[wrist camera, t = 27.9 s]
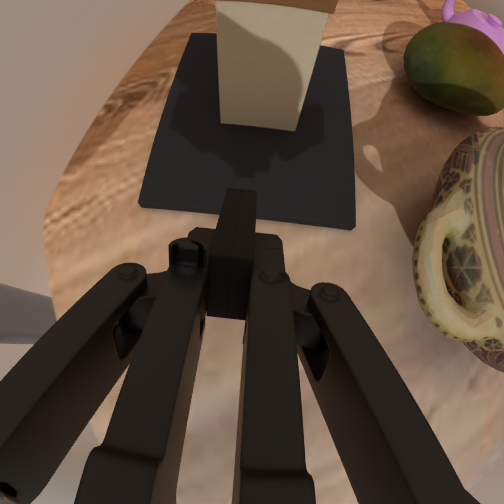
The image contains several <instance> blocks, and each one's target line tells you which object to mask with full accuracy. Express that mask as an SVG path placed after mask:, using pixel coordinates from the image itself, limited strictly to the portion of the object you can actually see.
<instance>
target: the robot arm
mask: <svg viewBox="0 0 504 504" xmlns="http://www.w3.org/2000/svg"><path fill="white" fill-rule="evenodd" d="M256 204H257V191H254V190H245V189H235V188H228V189H227V192H226V195H225V199H224V202H223V206H222V209H221V212H220V216H219V219H218V223H217V226H216V229H209V228H199V227H196V228H195V229H193V230H192V231H190V232H189V234H188V237H187V238H180V239H176V240H174V241H172V242H171V243H170V244H169V268H168V270H167V271H164V272H160V273H152V274H146V269H145V268H144V267H143V266H142V265H140V264H137V263H123V264H120V265H117V266H116V267H114V268H113V269H111V270H110V271H109V272H108V273H107V274H106V275H105V276H104V277H103V278H102V279H100V280H99V281H98V282H97V283H96V284H95V285H94V286H93V287H92V288H91V289H90V290H89V291H88V292H87V293H86V294H85V295H83V296H82V297H81V298H80V299H79V300H78V301H77V302H76V303H75V304H74V305H73V306H72V307H71V308H70V309H69V310H68V311H67V312H66V313H65V314H64V315H63V316H62V317H61V318H60V319H59V320H58V321H57V322H56V323H55V324H54V325H53V326H52V327H51V328H50V329H49V330H48V331H47V332H46V333H45V334H44V335H43V336H42V337H41V338H40V339H39V340H38V341H37V342H36V343H35V344H34V346H33V347H31V349H30V350H29V351H28V352H27V353H26V354H25V355H24V356H23V357H22V358H21V359H20V360H19V361H18V362H17V364H16V365H15V366H14V367H13V368H12V369H11V370H10V371H9V372H8V373H7V375H6V376H5V377H4V378H3V379H2V380H1V381H0V504H30V503H31V502H32V501H33V500H34V499H35V498H36V497H37V496H38V495H39V494H40V493H41V492H42V490H43V489H44V488H45V486H46V485H47V484H48V482H49V481H50V479H51V477H52V476H53V474H54V473H55V471H56V470H57V468H58V467H59V465H60V464H61V462H62V461H63V459H64V458H65V456H66V455H67V453H68V452H69V450H70V449H71V447H72V446H73V444H74V443H75V441H76V440H77V438H78V437H79V435H80V434H81V432H82V431H83V430H84V428H85V427H86V425H87V424H88V422H89V421H90V419H91V418H92V416H93V415H94V414H95V412H96V411H97V409H98V408H99V406H100V405H101V403H102V402H103V401H104V399H105V398H106V396H107V395H108V393H109V392H110V391H111V389H112V388H113V386H114V385H115V384H116V382H117V381H118V379H119V378H120V376H121V375H122V374H123V372H124V371H125V369H126V368H127V367H128V365H129V364H130V365H129V368H128V371H127V373H126V376H125V379H124V382H123V385H122V387H121V390H120V393H119V396H118V399H117V402H116V405H115V408H114V411H113V414H112V417H111V420H110V423H109V426H108V429H107V432H106V435H105V438H104V441H103V443H102V444H101V445H100V446H97V447H94V448H93V449H92V451H91V452H90V454H89V456H88V459H87V461H86V464H85V467H84V471H83V474H82V477H81V480H80V484H79V488H78V491H77V494H76V498H75V502H74V504H176V488H177V481H178V475H179V469H180V462H181V456H182V450H183V444H184V438H185V432H186V426H187V421H188V415H189V409H190V404H191V398H192V393H193V387H194V382H195V376H196V371H197V366H198V360H199V355H200V350H201V345H202V339H203V334H204V329H205V315H206V311H207V316H212V317H220V318H229V319H239V320H246V321H245V329H244V337H243V356H242V370H241V383H240V397H239V411H238V425H237V439H236V453H235V467H234V482H233V495H232V504H316V499H315V487H314V481H313V478H312V476H311V475H310V474H309V473H308V472H307V469H306V463H305V447H304V431H303V417H302V404H301V391H300V379H299V367H298V356H297V353H298V355H299V358H300V360H301V363H302V365H303V368H304V370H305V373H306V375H307V377H308V380H309V382H310V385H311V387H312V390H313V392H314V395H315V397H316V399H317V402H318V404H319V407H320V409H321V412H322V414H323V417H324V419H325V422H326V424H327V426H328V429H329V431H330V434H331V436H332V439H333V441H334V444H335V446H336V449H337V451H338V454H339V456H340V459H341V461H342V463H343V466H344V468H345V471H346V473H347V476H348V478H349V481H350V483H351V486H352V488H353V491H354V493H355V496H356V498H357V501H358V503H359V504H480V503H479V502H478V501H477V500H476V499H475V498H474V497H473V496H472V495H471V494H469V493H468V492H467V491H466V490H465V489H464V487H463V485H462V484H461V482H460V480H459V478H458V476H457V474H456V472H455V470H454V468H453V466H452V465H451V463H450V461H449V459H448V457H447V455H446V454H445V452H444V450H443V448H442V446H441V445H440V443H439V441H438V439H437V437H436V436H435V434H434V432H433V430H432V429H431V427H430V425H429V423H428V422H427V420H426V418H425V416H424V415H423V413H422V411H421V410H420V408H419V406H418V404H417V403H416V401H415V399H414V398H413V396H412V394H411V393H410V391H409V389H408V388H407V386H406V384H405V383H404V381H403V380H402V378H401V376H400V375H399V373H398V371H397V370H396V368H395V367H394V365H393V363H392V362H391V360H390V359H389V357H388V355H387V354H386V352H385V351H384V349H383V347H382V346H381V344H380V343H379V341H378V340H377V338H376V336H375V335H374V333H373V332H372V330H371V329H370V327H369V326H368V324H367V323H366V321H365V320H364V318H363V316H362V315H361V313H360V312H359V310H358V309H357V307H356V306H355V304H354V303H353V301H352V300H351V298H350V297H349V295H348V294H347V293H346V292H345V291H344V289H343V288H341V287H339V286H337V285H335V284H332V283H323V282H322V283H317V284H315V285H314V286H312V288H311V290H308V289H304V288H301V287H299V286H296V285H295V284H293V283H292V282H291V281H290V278H289V276H288V274H287V273H286V272H285V264H284V254H283V244H282V240H281V239H280V238H279V237H278V236H277V235H274V234H265V233H255V225H256Z"/></svg>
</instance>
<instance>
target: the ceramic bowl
mask: <svg viewBox="0 0 504 504" xmlns="http://www.w3.org/2000/svg"><path fill="white" fill-rule="evenodd" d="M412 263H413V276H414V281H415V286H416V291H417V296H418V300H419V302H420V305H421V307H422V309H423V311H424V313H425V315H426V316H427V318H428V319H429V321H430V322H431V323H432V324H433V325H434V326H435V327H436V328H437V329H438V330H439V331H440V332H441V333H443V334H444V335H445V336H446V337H447V338H449V339H452V340H457V341H463V343H464V344H465V345H466V347H467V348H468V349H469V350H470V351H471V352H472V353H473V354H475V355H476V356H477V357H478V358H479V359H480V360H481V361H483V362H484V363H486V364H487V365H489V366H491V367H493V368H495V369H496V370H498V371H501V372H504V127H493V128H487V129H484V130H481V131H478V132H476V133H473V134H472V135H470V136H469V137H468V138H466V139H465V140H463V141H462V142H461V143H460V144H459V145H458V146H457V147H456V148H455V149H454V151H453V152H452V154H451V155H450V157H449V158H448V160H447V161H446V163H445V165H444V167H443V169H442V171H441V174H440V176H439V179H438V182H437V185H436V189H435V192H434V196H433V201H432V208H431V211H430V212H429V213H428V214H427V215H426V217H425V218H424V219H423V221H422V222H421V224H420V226H419V228H418V231H417V235H416V238H415V242H414V248H413V257H412Z"/></svg>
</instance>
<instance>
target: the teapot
mask: <svg viewBox="0 0 504 504" xmlns="http://www.w3.org/2000/svg"><path fill="white" fill-rule="evenodd" d="M454 2H455V0H446V1H445V2H444V4H443V6H442V9H441V16H442V20H443V22H450V23H458V24H463V25H467V26H470V27H473V28H475V29H478V30H480V31H481V32H483V33H484V34H486V35H487V36H488V37H490V38H491V39H492V40H493V41H494V42H495V43H496V44H497V46H498V47H499V48H500V50H501V51H502V53H503V54H504V30H503V28H502V27H501V25H502V23H501V21H500V20H499V19H498V18H497V17H495V16H494V15H492V14H489V16H488V15H486V14H485V13H483V12H481V11H478V10H476V9H472V10H467V11H464V12H460V13H458V14H455V13H454V9H453V6H454Z"/></svg>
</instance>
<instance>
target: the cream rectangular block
mask: <svg viewBox="0 0 504 504" xmlns="http://www.w3.org/2000/svg"><path fill="white" fill-rule="evenodd" d="M337 1H338V0H216V26H217V53H218V78H219V99H220V119H221V123H225V124H236V125H246V126H256V127H265V128H273V129H280V130H288V131H295V130H296V127H297V123H298V120H299V116H300V113H301V109H302V106H303V103H304V99H305V96H306V92H307V89H308V85H309V82H310V78H311V75H312V71H313V68H314V64H315V61H316V57H317V54H318V50H319V47H320V43H321V40H322V36H323V33H324V29H325V26H326V22H327V19H328V15H329V13H330V14H333V13H334V11H335V8H336V5H337Z"/></svg>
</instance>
